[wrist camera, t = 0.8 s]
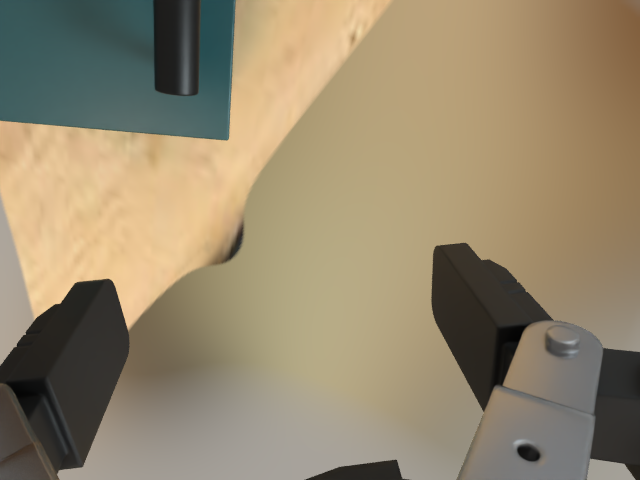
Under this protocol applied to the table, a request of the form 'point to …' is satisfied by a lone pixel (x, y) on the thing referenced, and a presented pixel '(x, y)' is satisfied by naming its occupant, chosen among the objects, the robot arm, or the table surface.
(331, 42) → the table surface
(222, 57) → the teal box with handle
